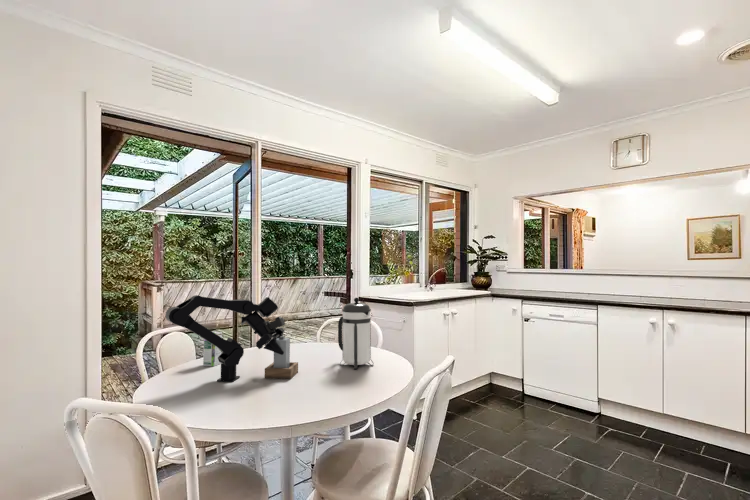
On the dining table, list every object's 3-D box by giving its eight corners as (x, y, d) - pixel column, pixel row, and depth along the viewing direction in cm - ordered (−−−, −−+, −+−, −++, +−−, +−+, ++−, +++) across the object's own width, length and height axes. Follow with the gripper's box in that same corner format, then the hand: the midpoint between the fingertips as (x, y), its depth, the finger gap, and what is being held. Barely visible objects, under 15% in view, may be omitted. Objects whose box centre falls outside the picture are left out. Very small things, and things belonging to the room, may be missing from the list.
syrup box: (202, 365, 171) (202, 333, 172) (211, 362, 177) (212, 330, 178) (213, 366, 170) (213, 333, 170) (222, 363, 175) (222, 331, 176)
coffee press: (375, 361, 178) (374, 296, 180) (371, 370, 162) (371, 298, 164) (338, 360, 180) (338, 296, 181) (331, 369, 164) (331, 298, 165)
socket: (290, 379, 150) (290, 369, 150) (264, 378, 151) (264, 368, 151) (298, 372, 160) (298, 362, 160) (273, 371, 161) (273, 362, 161)
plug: (285, 370, 153) (286, 337, 153) (273, 370, 153) (273, 337, 154) (289, 367, 158) (289, 335, 158) (277, 367, 158) (278, 335, 159)
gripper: (264, 313, 148) (292, 343, 146) (280, 308, 166) (305, 334, 165) (244, 334, 148) (271, 363, 146) (262, 326, 166) (287, 352, 165)
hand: (285, 352), depth 156 cm, fingers closed on plug, 5 cm apart
